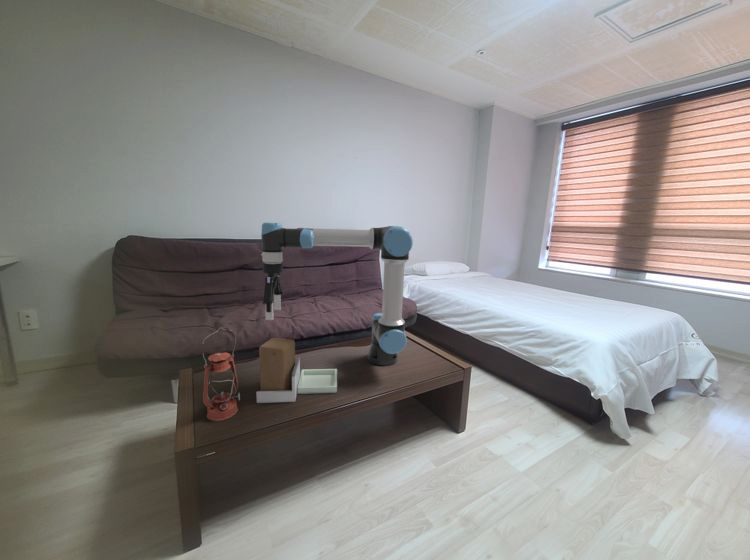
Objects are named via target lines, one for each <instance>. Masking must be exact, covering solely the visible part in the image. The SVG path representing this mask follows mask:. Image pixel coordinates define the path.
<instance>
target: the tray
mask: <svg viewBox="0 0 750 560" xmlns="http://www.w3.org/2000/svg"><path fill="white" fill-rule="evenodd" d="M337 393H338V368H318V369H317V368H314V369H301V370H300V380H299V384H298V388H297V395H313V394H337Z"/></svg>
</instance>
